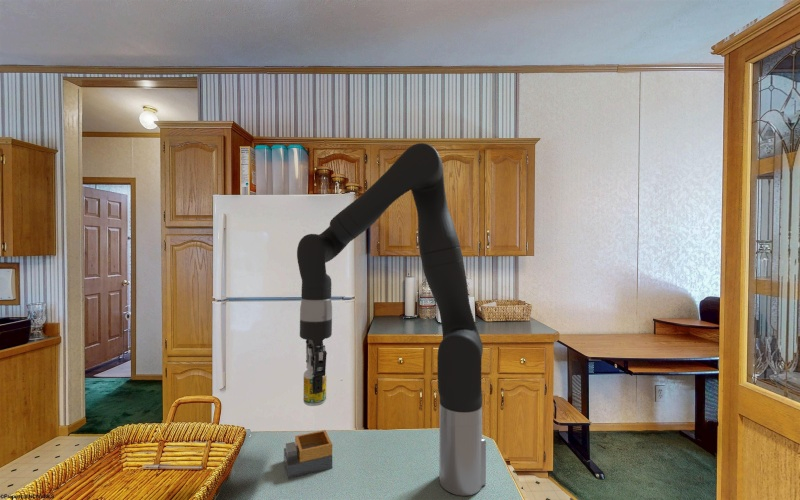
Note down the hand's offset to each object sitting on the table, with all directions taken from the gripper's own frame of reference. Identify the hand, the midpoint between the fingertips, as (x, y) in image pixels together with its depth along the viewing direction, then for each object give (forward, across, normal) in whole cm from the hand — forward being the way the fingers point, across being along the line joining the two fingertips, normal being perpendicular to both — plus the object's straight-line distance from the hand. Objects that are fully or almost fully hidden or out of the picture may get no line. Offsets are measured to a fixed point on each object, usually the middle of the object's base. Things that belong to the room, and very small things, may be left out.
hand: (314, 387), depth 86 cm
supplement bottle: (+4, 0, 0) cm, 4 cm away
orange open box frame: (+18, -1, +2) cm, 18 cm away
